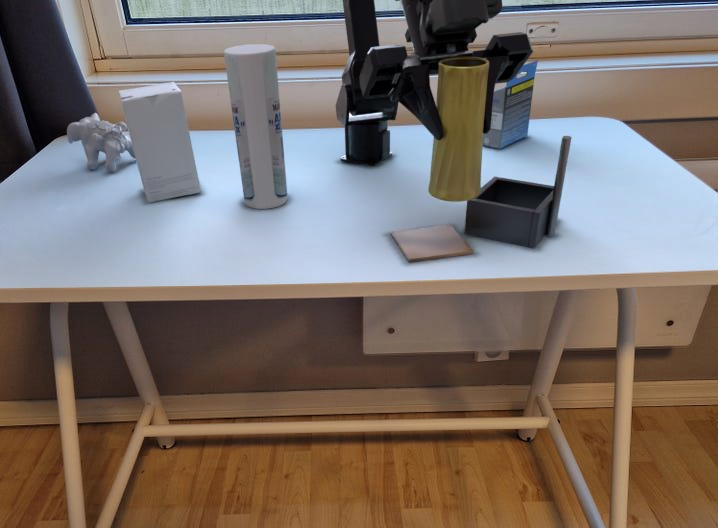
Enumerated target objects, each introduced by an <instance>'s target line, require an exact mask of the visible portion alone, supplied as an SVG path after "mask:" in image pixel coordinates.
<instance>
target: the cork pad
mask: <svg viewBox="0 0 718 528" xmlns="http://www.w3.org/2000/svg"><path fill="white" fill-rule="evenodd" d="M390 237H392V239H393V241H394V242H395V243H396V245H397V246H398V248H399V249H400V251H401V253H402V255H404V258H406V260H407V262H408V263H414V262H423V261H430V260H435V259H436V260H438V259H445V258H451V257H459V256H466V255H473V254H474V253H475V251H474V249H473V248H472V247H471V246H470V244H469V243H467V241H466V240H465V239H464V238H463V236H462V235H461V234H460V233H459V232H458V231H457V230H456V229H455V227H453V225H452V224H451V223H448V224H442V225H441V224H440V225H433V226H432V225H431V226H425V227H416V228H409V229H401V230H394V231H390Z"/></svg>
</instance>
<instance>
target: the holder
mask: <svg viewBox="0 0 718 528" xmlns="http://www.w3.org/2000/svg"><path fill="white" fill-rule="evenodd" d="M571 142H572V136H571V135H562V137H561V142H560V148H559V154H558V160H557V167H556V172H555V178H554V185H550V184H543V183H538V182H532V181H525V180H520V179H512V178H508V177H507V178H506V177H501V176H493V177H491V179H489V180H488V181H487V182H486V183H485V184H483V186H481V192H480V194H479V195H478V196H477V197H476V198H474V199H471V200H467V201H466V211H465V220H464V221H465V222H464V235H468V236H473V237H477V238H478V237H479V238H482V239H486V240H493V241H498V242H502V243H506V244H512V245H516V246H521V247H526V248H531V249H536V247H537V246H538V245H539V243H540V242H541V241H542V240H543V239H544V238H545V236H547V237H551V238H552V237H554V236H555V234H556V229H557V222H558V219H559V218H558V217H559V212H560V207H561V200H562V196H563V195H562V194H563V188H564V182H565V179H566V178H565V177H566V171H567V167H568V166H567V165H568V161H569V160H568V159H569V154H570V148H571Z"/></svg>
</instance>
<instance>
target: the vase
mask: <svg viewBox="0 0 718 528" xmlns="http://www.w3.org/2000/svg"><path fill="white" fill-rule="evenodd" d="M488 71H489V61H488V60H486V59H483V58H478V57H451V58H446V59H443V60H441V61H440V62H439V68H438V75H437V88H436V89H437V90H436V102H435V104H436V107H437V110H438V114H439V117H440V120H441V124H442V130H443V137H442V139H441V140H437V139H436V138H435V137H434V136H433V140H432V141H433V142H432V152H431V160H430V162H431V163H430V175H429V183H428V188H427V191H428V194H429V195H430V196H431V197H433V198H435V199H436V200H440V201H445V202H453V203H455V202H457V203H459V202H467V200H471V199H474V198H476V197H477V196H478V195H479V194H480V192H481V187H482V186H481V182H482V164H483V163H482V162H483V145H482V144H483V129H484V115H485V102H486V90H487V79H488Z"/></svg>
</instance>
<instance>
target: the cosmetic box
mask: <svg viewBox="0 0 718 528" xmlns="http://www.w3.org/2000/svg"><path fill="white" fill-rule="evenodd" d="M118 96H119V99H120V104H121V107H122V112H123V116H124V120H125V124H126V125H127V131H128V135H129V138H130V139H131V142H132V146H133V150H134V154H135V158H136V159H135V158H134V159H135V161H136V164H137V165H136V166H137V168H138V169H137V170H138V173H139V176H140V180H141V184H142V188H143V191H144V194H145V198H146V200H147V203H153V202H159V201H164V200H169V199H174V198H179V197H184V196H190V195H191V196H192V195H195V194H200V193H202V188H201V185H200V184H201V183H200V178H199V174H198V169H197V165H196V159H195V153H194V150H193V144H192V138H191V133H190V128H189V124H188V118H187V113H186V108H185V104H184V97H183V92H182V90H181V89H180V88H179V87H178V85H177V84H176V82H175V81H170V82H164V83H159V84H153V85H146V86H141V87H135V88H128V89H127V88H126V89H121V90H118Z"/></svg>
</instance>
